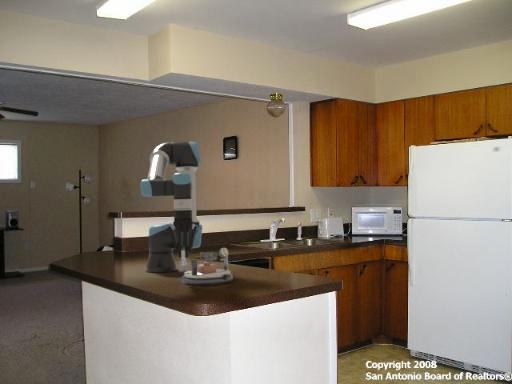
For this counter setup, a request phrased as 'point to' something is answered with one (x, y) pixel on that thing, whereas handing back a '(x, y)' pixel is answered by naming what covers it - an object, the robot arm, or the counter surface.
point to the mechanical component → (208, 256)
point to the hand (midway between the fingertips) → (184, 265)
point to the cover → (206, 268)
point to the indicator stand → (224, 254)
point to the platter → (195, 275)
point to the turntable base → (207, 281)
